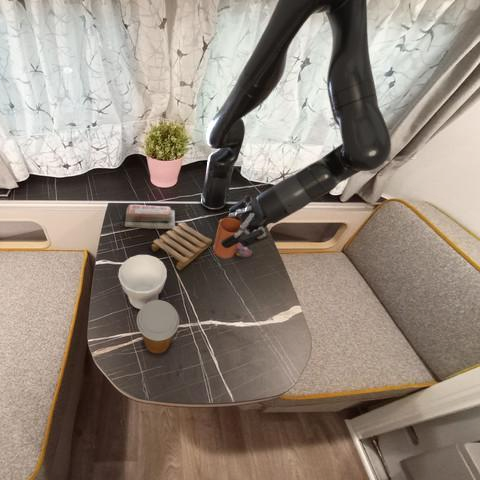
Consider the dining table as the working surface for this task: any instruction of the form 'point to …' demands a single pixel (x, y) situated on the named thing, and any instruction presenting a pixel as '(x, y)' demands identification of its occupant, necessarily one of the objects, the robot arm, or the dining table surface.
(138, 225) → the packaged product
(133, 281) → the cup
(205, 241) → the wooden slatted trivet
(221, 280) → the dining table surface
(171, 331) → the disposable coffee cup
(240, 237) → the robot arm
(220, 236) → the tumbler
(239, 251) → the pink oblong lump
